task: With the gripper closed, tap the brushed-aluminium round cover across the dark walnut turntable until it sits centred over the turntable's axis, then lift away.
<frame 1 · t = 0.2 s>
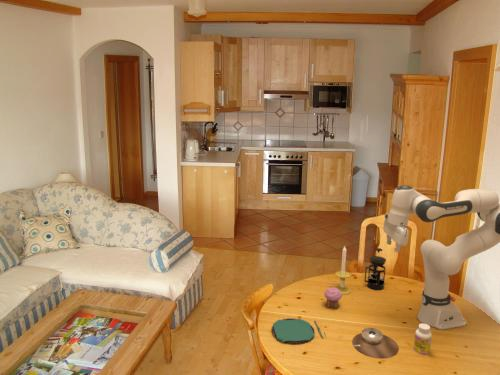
hand: (392, 247, 214), 39 cm above the table, tool pointing down, fingers open, 8 cm apart
candle: (341, 290, 255), on the table
platter: (375, 345, 202), point 1 cm above the table, hinge at 0.0°, touching cover
cover: (371, 339, 206), point 1 cm above the table, touching platter
supplement bottle: (421, 352, 199), on the table
french press: (374, 287, 260), on the table
cutlery set: (303, 333, 214), on the table
cupcake: (332, 306, 238), on the table
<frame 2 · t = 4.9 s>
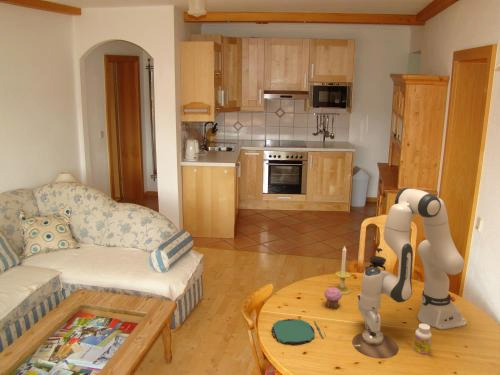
hand: (368, 329, 210), 3 cm above the table, tool pointing down, fingers closed
platter: (375, 345, 202), point 1 cm above the table, hinge at 0.0°
cover: (372, 340, 205), point 2 cm above the table
everything else where it was.
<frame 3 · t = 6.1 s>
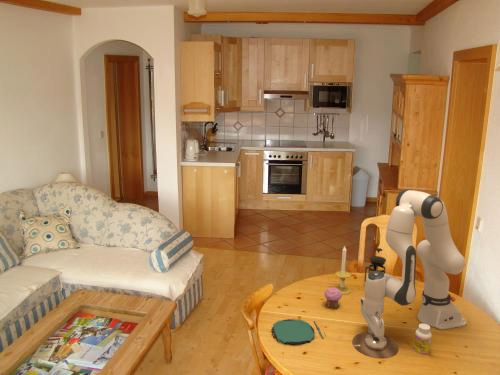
hand: (371, 334, 207), 3 cm above the table, tool pointing down, fingers closed
platter: (375, 345, 202), point 1 cm above the table, hinge at 0.0°, touching cover
cover: (375, 345, 201), point 1 cm above the table, touching gripper, platter
everything else where it was.
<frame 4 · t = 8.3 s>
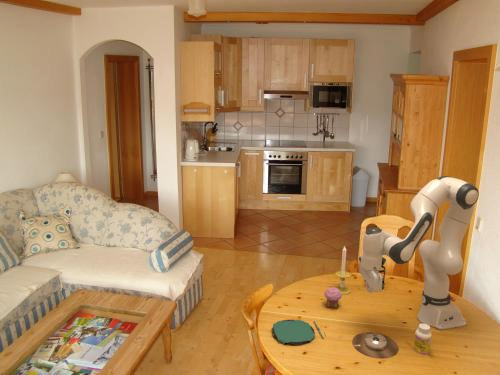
hand: (369, 291, 209), 21 cm above the table, tool pointing down, fingers closed
cover: (375, 345, 201), point 1 cm above the table, touching platter
everything else where it was.
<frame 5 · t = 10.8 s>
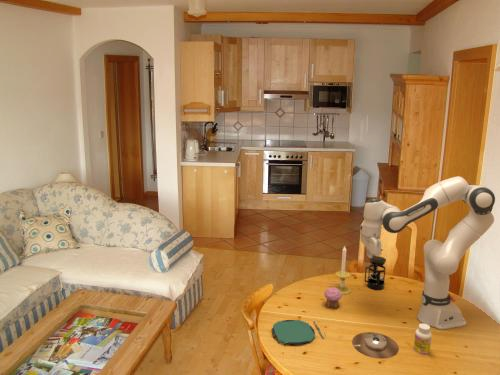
hand: (369, 257, 227), 29 cm above the table, tool pointing down, fingers closed
nothing on the table moved.
at the end: cover 0.4 cm from the platter (horizontally); cover touching platter; cover tilted 0° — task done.
